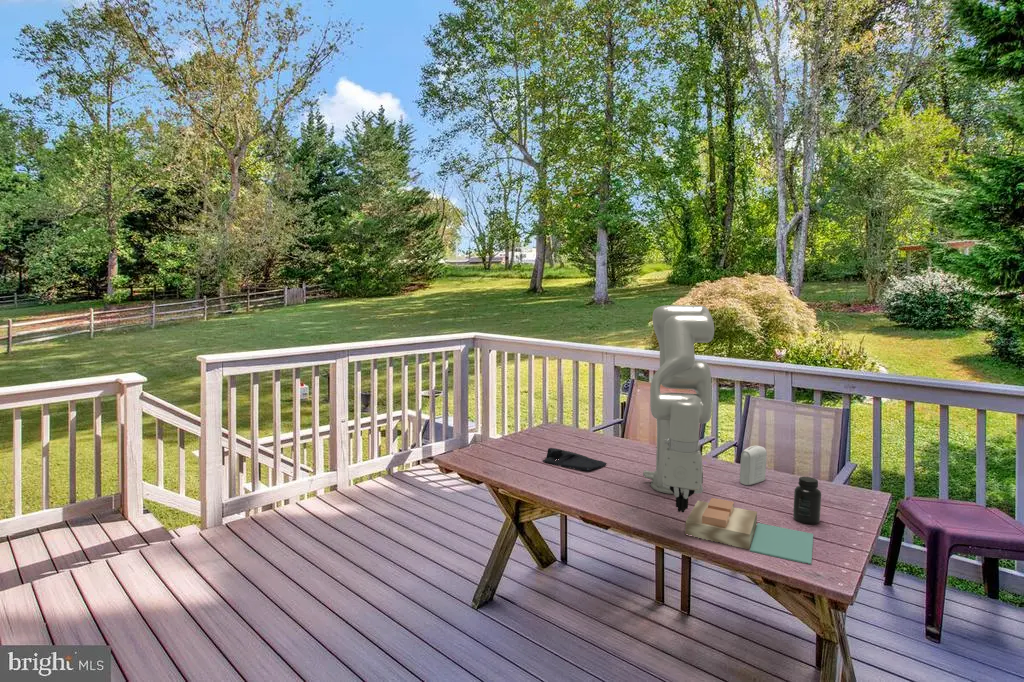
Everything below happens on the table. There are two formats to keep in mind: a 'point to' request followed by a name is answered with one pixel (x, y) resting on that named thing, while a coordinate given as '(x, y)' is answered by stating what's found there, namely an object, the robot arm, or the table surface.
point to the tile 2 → (715, 517)
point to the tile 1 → (721, 505)
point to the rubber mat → (783, 543)
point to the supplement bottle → (807, 501)
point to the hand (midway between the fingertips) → (681, 510)
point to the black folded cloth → (572, 460)
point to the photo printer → (753, 465)
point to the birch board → (734, 533)
